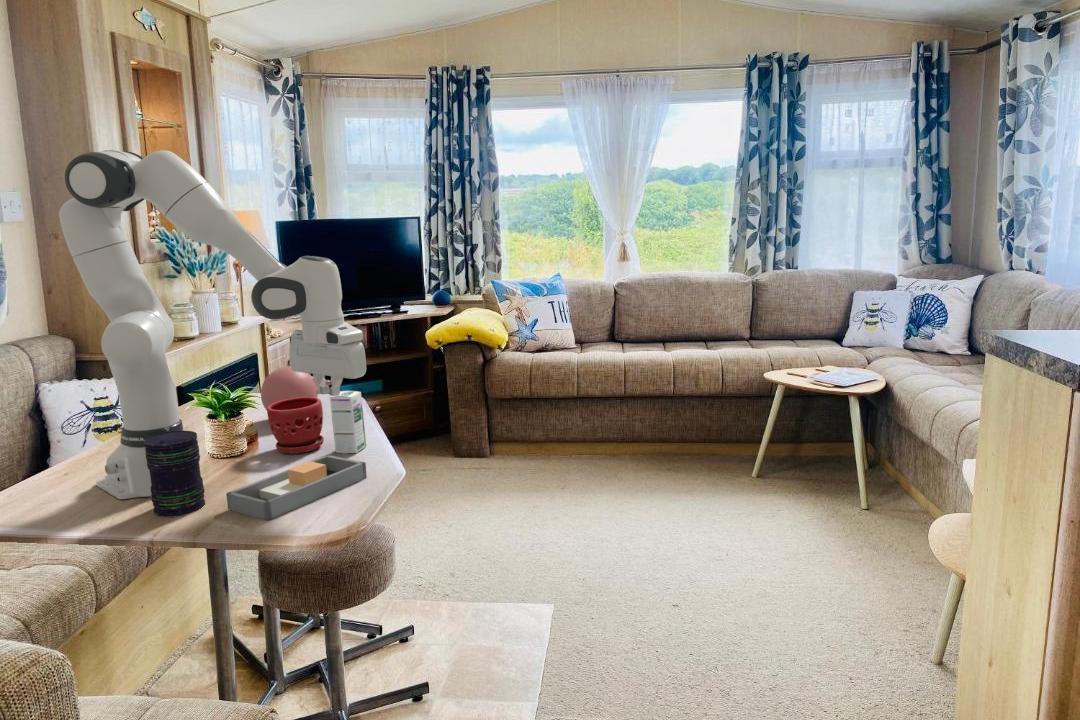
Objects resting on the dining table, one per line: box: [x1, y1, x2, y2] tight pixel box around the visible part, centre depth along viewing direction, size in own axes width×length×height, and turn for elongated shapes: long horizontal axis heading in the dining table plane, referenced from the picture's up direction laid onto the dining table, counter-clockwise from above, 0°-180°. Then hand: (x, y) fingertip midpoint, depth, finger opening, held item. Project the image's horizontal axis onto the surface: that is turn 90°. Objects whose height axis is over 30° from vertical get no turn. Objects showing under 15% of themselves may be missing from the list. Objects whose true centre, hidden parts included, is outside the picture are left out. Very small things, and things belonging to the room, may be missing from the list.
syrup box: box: [329, 390, 367, 454], centre depth 194 cm, size 6×6×14 cm
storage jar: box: [144, 430, 206, 518], centre depth 159 cm, size 10×10×15 cm
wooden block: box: [287, 460, 327, 486], centre depth 168 cm, size 5×6×3 cm
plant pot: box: [266, 397, 325, 455], centre depth 197 cm, size 13×13×12 cm
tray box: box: [225, 454, 368, 521], centre depth 167 cm, size 12×27×4 cm, turn 148°
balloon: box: [260, 366, 333, 420], centre depth 224 cm, size 15×20×15 cm
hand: (329, 394), depth 172 cm, fingers closed
